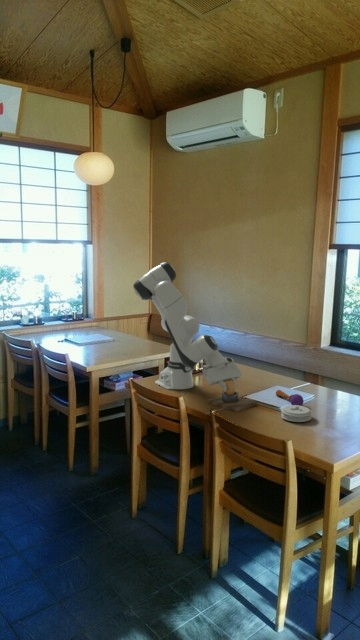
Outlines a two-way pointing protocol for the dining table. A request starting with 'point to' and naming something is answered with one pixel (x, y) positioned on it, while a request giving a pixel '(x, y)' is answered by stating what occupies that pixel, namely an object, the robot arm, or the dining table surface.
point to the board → (236, 406)
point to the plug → (230, 387)
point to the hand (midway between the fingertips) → (231, 388)
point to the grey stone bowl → (230, 397)
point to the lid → (296, 413)
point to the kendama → (291, 398)
